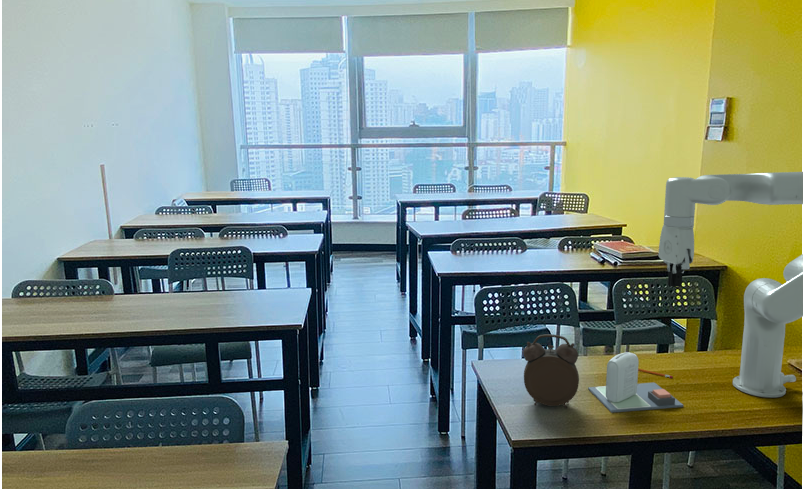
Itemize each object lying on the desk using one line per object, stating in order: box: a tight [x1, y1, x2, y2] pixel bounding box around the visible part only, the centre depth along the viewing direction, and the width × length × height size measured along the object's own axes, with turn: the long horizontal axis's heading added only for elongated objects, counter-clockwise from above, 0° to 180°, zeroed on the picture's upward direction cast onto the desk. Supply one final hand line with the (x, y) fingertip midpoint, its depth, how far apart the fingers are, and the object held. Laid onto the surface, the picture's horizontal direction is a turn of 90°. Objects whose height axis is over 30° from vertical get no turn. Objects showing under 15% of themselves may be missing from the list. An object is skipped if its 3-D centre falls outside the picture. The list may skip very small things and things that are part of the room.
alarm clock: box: [523, 333, 580, 409], centre depth 148 cm, size 15×7×20 cm, turn 74°
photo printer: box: [605, 351, 639, 402], centre depth 150 cm, size 10×4×12 cm, turn 124°
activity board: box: [587, 382, 684, 413], centre depth 151 cm, size 20×14×2 cm
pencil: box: [638, 367, 673, 379], centre depth 169 cm, size 1×19×1 cm, turn 51°
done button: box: [653, 388, 672, 398], centre depth 148 cm, size 3×3×2 cm
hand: (674, 285), depth 156 cm, fingers closed
